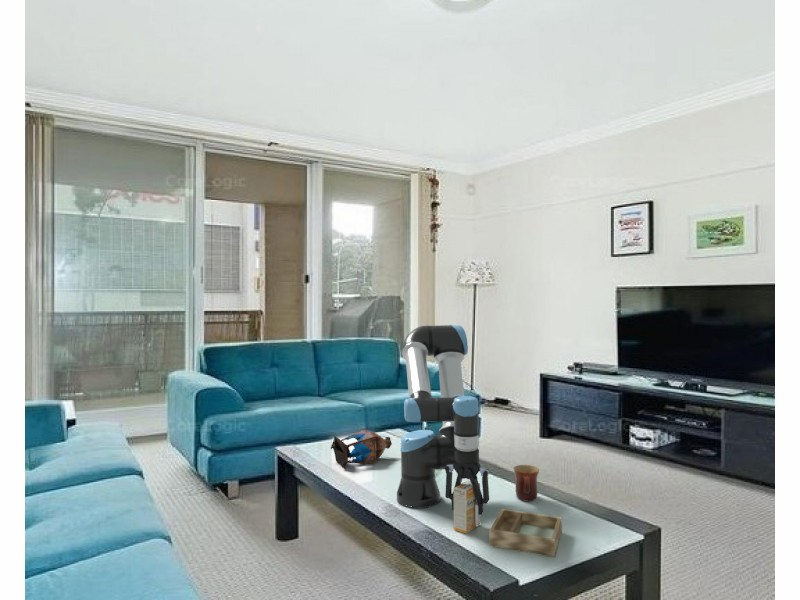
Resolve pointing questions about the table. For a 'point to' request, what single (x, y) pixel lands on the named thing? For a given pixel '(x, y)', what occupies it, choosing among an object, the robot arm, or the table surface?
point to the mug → (526, 482)
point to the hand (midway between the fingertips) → (467, 522)
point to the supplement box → (464, 507)
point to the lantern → (360, 448)
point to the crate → (526, 532)
